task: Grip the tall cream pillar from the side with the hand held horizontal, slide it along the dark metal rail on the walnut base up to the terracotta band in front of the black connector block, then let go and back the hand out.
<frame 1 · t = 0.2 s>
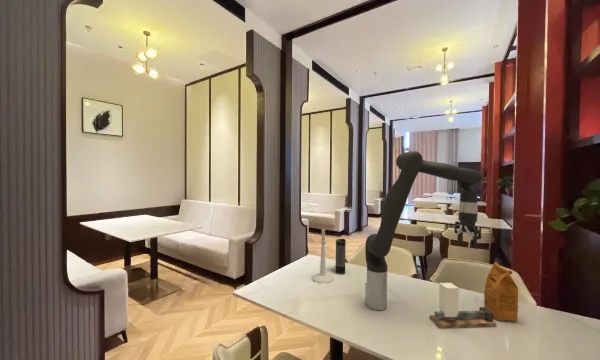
hand: (466, 245, 120), 28 cm above the table, tool pointing down, fingers open, 8 cm apart
candlestick: (322, 279, 148), on the table
coffee package: (499, 315, 111), on the table
electronic device: (340, 271, 159), on the table
rail base: (461, 322, 105), on the table
tall cream pillar: (448, 300, 104), point 10 cm above the table, slide at 0.0 cm
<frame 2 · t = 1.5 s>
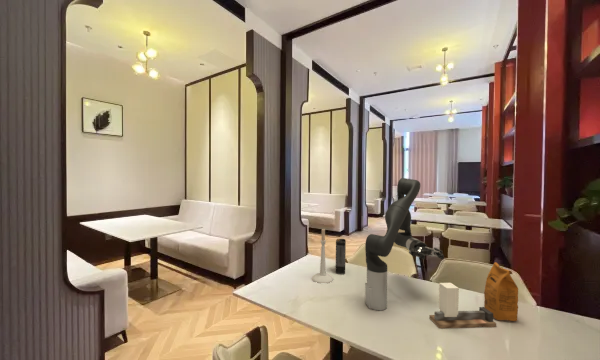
hand: (433, 257, 115), 24 cm above the table, tool horizontal, fingers open, 8 cm apart
nothing on the table moved.
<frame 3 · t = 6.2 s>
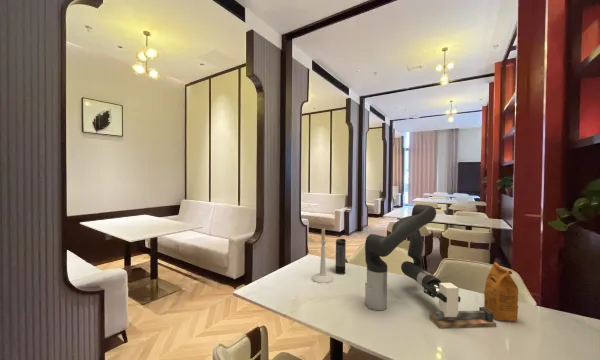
hand: (452, 299, 102), 11 cm above the table, tool horizontal, fingers closed on tall cream pillar, 5 cm apart
tall cream pillar: (448, 300, 104), point 10 cm above the table, slide at 0.0 cm, touching gripper
everything else where it was.
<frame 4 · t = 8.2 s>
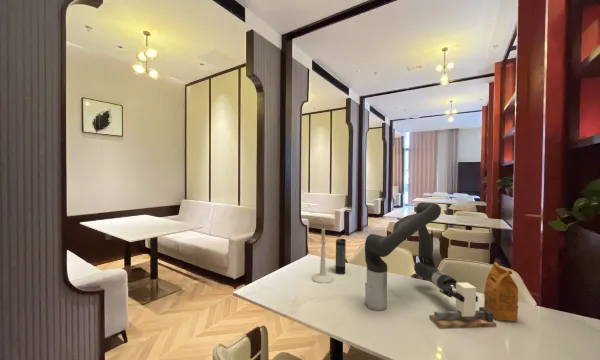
hand: (470, 299, 102), 11 cm above the table, tool horizontal, fingers closed on tall cream pillar, 5 cm apart
tall cream pillar: (465, 299, 105), point 10 cm above the table, slide at 7.4 cm, touching gripper
everything else where it was.
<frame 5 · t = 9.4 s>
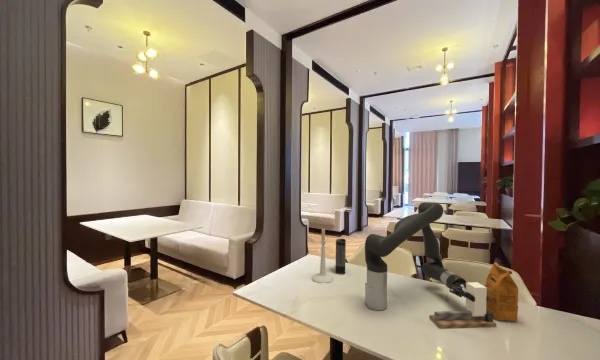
hand: (480, 299, 102), 11 cm above the table, tool horizontal, fingers closed on tall cream pillar, 5 cm apart
tall cream pillar: (475, 299, 105), point 10 cm above the table, slide at 11.9 cm, touching gripper
everything else where it was.
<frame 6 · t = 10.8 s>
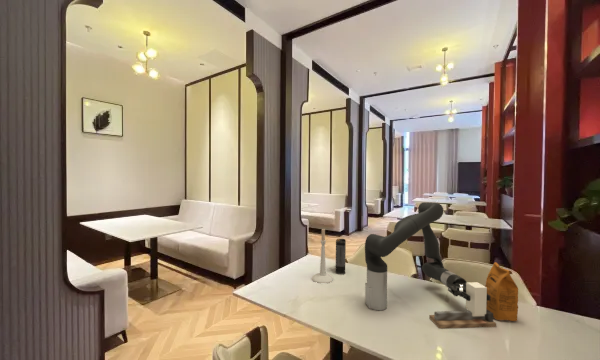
hand: (479, 298, 103), 11 cm above the table, tool horizontal, fingers open, 8 cm apart
tall cream pillar: (475, 299, 105), point 10 cm above the table, slide at 11.9 cm
everything else where it was.
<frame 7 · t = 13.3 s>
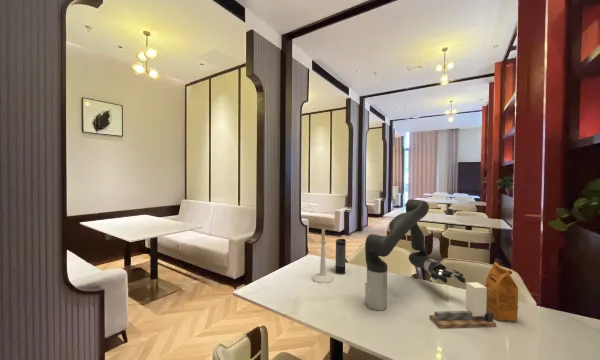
hand: (455, 280, 116), 13 cm above the table, tool horizontal, fingers open, 8 cm apart
nothing on the table moved.
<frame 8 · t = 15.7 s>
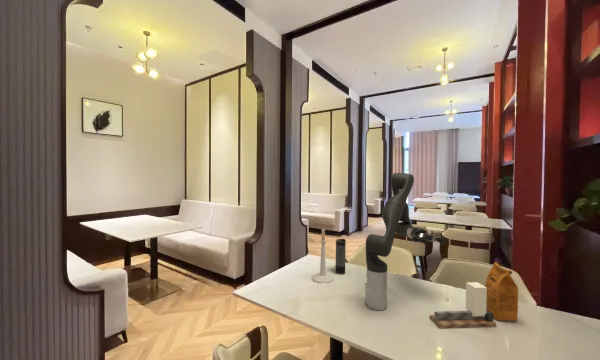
hand: (434, 241, 119), 30 cm above the table, tool horizontal, fingers open, 8 cm apart
nothing on the table moved.
at the end: tall cream pillar slide at 11.9 cm; the gripper is holding nothing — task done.
